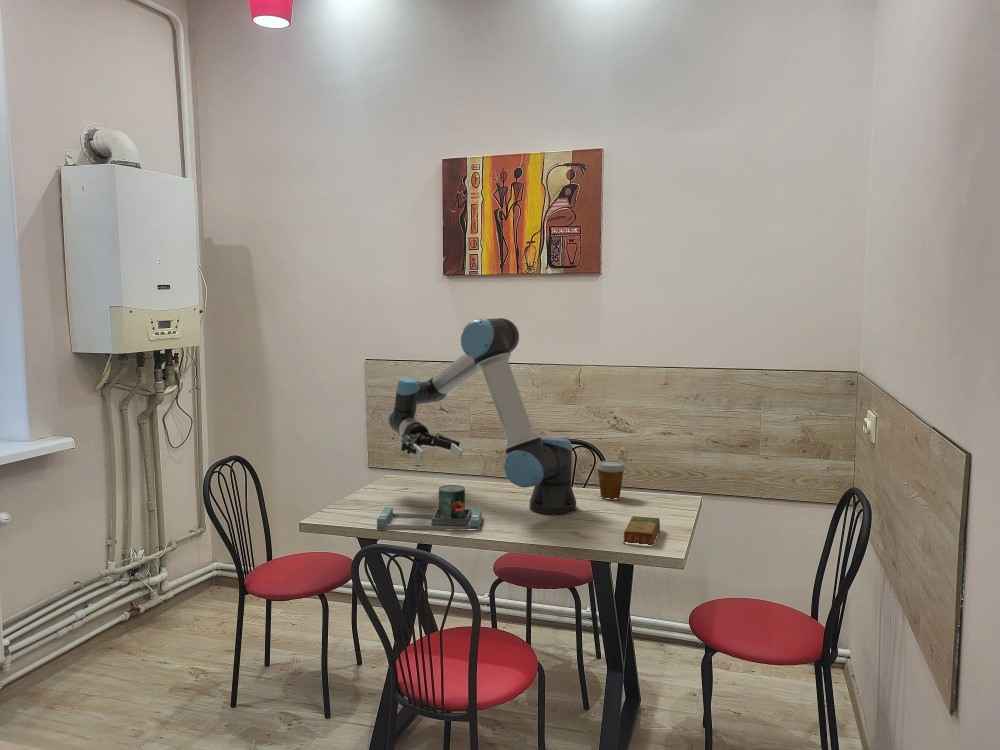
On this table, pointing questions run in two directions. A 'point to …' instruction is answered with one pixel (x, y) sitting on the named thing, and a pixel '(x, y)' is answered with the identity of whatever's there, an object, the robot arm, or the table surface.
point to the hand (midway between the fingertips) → (441, 454)
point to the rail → (422, 515)
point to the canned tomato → (452, 502)
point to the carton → (642, 530)
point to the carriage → (450, 521)
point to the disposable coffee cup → (610, 478)
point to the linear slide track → (388, 511)
